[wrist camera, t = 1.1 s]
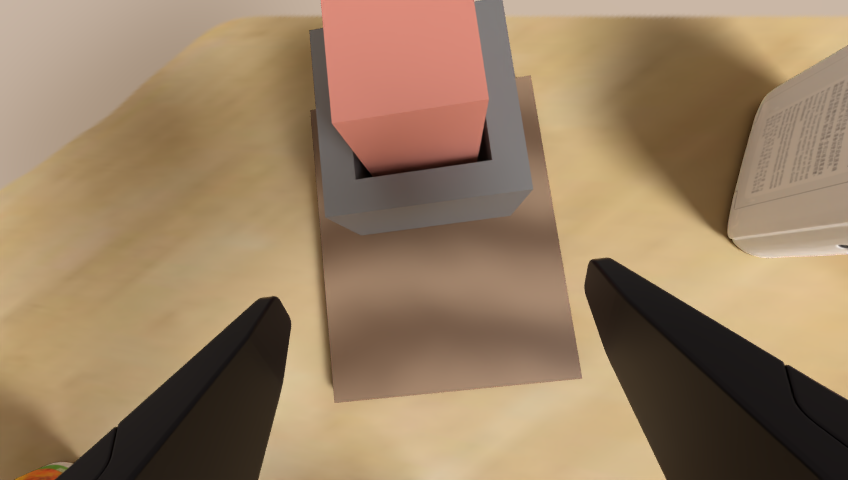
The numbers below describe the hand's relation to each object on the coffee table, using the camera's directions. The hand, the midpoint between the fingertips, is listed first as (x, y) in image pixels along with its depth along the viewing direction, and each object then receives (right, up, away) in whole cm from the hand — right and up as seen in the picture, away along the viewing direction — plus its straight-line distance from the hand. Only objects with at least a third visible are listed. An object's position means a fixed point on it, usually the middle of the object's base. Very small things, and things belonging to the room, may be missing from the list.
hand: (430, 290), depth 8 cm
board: (+1, +1, +14) cm, 14 cm away
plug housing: (0, +7, +13) cm, 15 cm away
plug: (0, +7, +9) cm, 11 cm away
